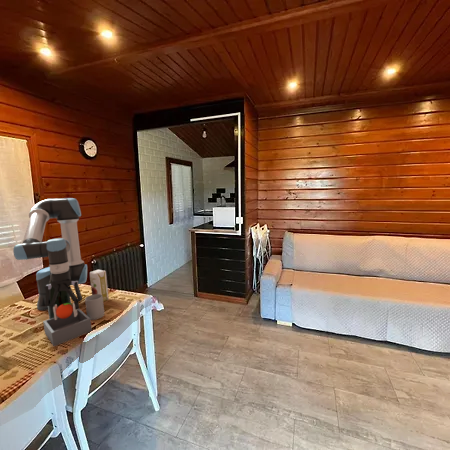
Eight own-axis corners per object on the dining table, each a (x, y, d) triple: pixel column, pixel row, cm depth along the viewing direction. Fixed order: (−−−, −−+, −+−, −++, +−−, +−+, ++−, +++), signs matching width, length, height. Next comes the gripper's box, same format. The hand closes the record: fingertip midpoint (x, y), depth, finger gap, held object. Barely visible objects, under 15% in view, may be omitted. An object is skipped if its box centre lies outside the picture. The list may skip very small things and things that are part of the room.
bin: (45, 333, 122) (43, 321, 122) (81, 320, 134) (79, 308, 133) (53, 346, 111) (51, 332, 111) (91, 331, 123) (90, 318, 122)
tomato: (74, 312, 127) (73, 298, 126) (77, 316, 122) (75, 303, 121) (56, 317, 122) (54, 303, 121) (58, 323, 116) (56, 308, 115)
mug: (102, 318, 135) (100, 299, 133) (85, 321, 133) (82, 301, 131) (107, 308, 146) (105, 290, 145) (91, 311, 144) (88, 292, 143)
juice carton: (102, 296, 164) (99, 268, 161) (110, 299, 159) (107, 270, 157) (91, 301, 157) (87, 272, 155) (99, 304, 153) (96, 274, 150)
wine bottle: (46, 327, 128) (37, 264, 124) (54, 317, 138) (46, 259, 134) (69, 323, 131) (61, 261, 127) (75, 314, 141) (68, 257, 137)
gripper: (31, 276, 112) (38, 324, 115) (82, 270, 118) (88, 316, 121) (38, 272, 119) (45, 317, 122) (86, 266, 125) (91, 309, 128)
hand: (66, 316), depth 121 cm, fingers closed on tomato, 7 cm apart
